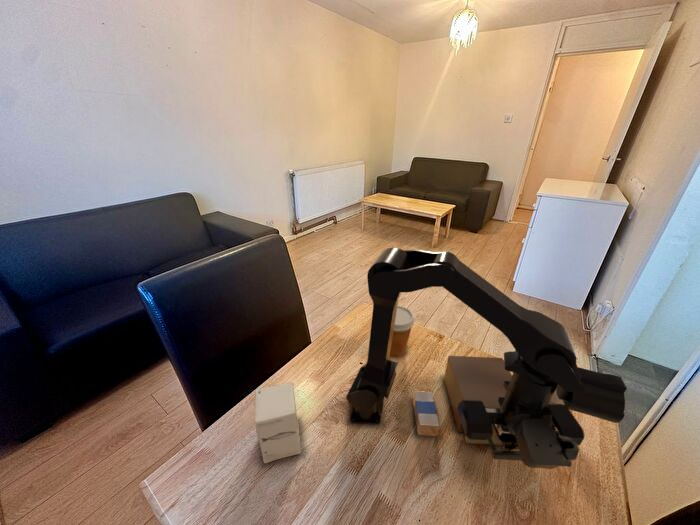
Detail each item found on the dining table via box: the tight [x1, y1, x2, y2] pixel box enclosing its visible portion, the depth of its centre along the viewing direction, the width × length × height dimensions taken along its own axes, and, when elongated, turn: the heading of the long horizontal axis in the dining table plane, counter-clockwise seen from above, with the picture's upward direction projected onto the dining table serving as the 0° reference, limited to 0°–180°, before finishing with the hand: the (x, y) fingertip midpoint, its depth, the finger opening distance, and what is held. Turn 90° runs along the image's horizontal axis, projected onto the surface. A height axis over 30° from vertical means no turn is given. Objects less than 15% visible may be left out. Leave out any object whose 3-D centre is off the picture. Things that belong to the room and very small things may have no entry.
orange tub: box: [390, 305, 416, 357], centre depth 79 cm, size 10×10×12 cm
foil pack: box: [412, 390, 440, 437], centre depth 62 cm, size 8×4×4 cm, turn 177°
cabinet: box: [443, 355, 513, 433], centre depth 64 cm, size 14×13×8 cm
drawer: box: [464, 424, 523, 462], centre depth 59 cm, size 17×11×6 cm, turn 177°
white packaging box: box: [254, 381, 302, 464], centre depth 55 cm, size 7×7×13 cm
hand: (505, 449), depth 53 cm, fingers closed
